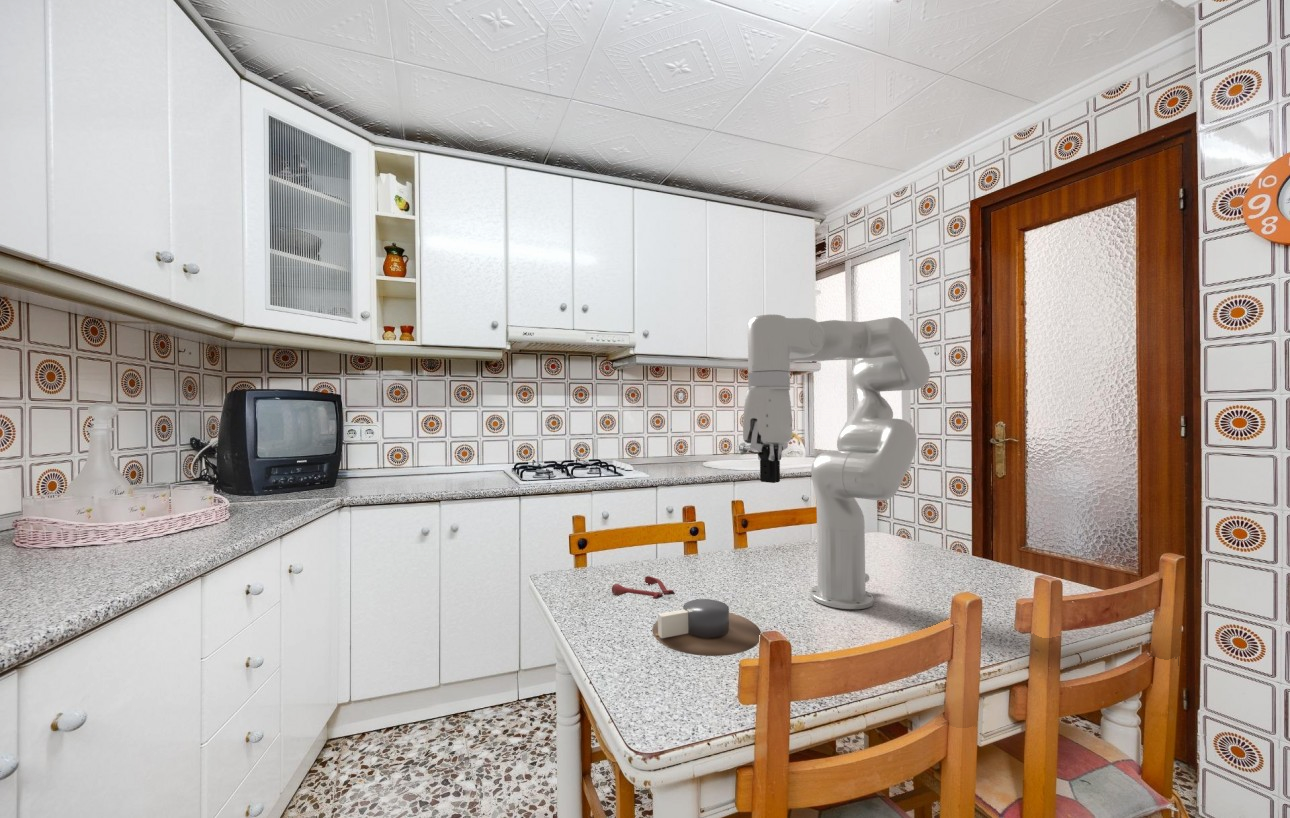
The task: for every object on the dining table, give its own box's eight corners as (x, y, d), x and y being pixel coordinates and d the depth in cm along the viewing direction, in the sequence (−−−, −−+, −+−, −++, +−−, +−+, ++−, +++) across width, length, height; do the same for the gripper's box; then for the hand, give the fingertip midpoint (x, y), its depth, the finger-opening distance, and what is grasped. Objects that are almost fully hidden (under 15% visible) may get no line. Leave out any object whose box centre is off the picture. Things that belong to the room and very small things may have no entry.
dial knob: (714, 616, 93) (713, 596, 93) (738, 632, 86) (737, 611, 86) (650, 627, 88) (650, 607, 88) (670, 646, 81) (670, 624, 81)
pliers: (667, 623, 96) (667, 609, 96) (609, 594, 111) (609, 583, 112) (709, 609, 103) (709, 597, 103) (649, 584, 118) (649, 573, 119)
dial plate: (699, 609, 101) (699, 601, 101) (782, 639, 87) (782, 629, 87) (630, 638, 88) (630, 628, 88) (715, 678, 74) (714, 666, 74)
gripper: (773, 385, 100) (774, 477, 100) (728, 382, 90) (729, 483, 89) (807, 383, 95) (808, 480, 94) (763, 379, 84) (765, 487, 84)
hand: (770, 481), depth 92 cm, fingers closed
